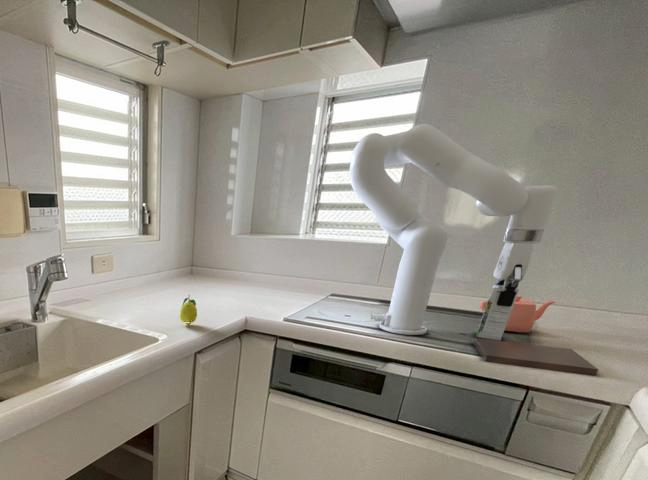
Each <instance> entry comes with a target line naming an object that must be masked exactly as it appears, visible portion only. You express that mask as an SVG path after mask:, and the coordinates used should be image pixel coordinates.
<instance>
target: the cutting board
mask: <svg viewBox="0 0 648 480" xmlns="http://www.w3.org/2000/svg"><path fill="white" fill-rule="evenodd" d="M473 345H474V347H475V348H476V350H477V351H478V352H479V354H480V355H481V357H482V359H483V360H484V362H492V363H498V364H504V365H505V364H506V365H513V366H521V367H528V368H535V369H546V370H551V371H560V372H566V373H574V374H580V375H581V374H582V375H588V376H589V375H590V376H596V375H597V373H598V371H599V368H598V367H596V366H595V365H593V364H592V363H590V361H588V360H587V359H585V358H584V357H583V356H582V355H580V354H579V353H577V352H576V350H574V349H572V348H566V347H560V346H559V347H558V346H551V345H541V344H532V343H524V342H515V341H504V340H493V339H485V338H479V337H475V338H474V339H473Z"/></svg>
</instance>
